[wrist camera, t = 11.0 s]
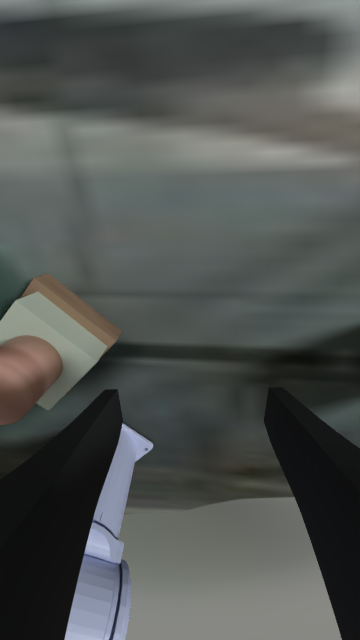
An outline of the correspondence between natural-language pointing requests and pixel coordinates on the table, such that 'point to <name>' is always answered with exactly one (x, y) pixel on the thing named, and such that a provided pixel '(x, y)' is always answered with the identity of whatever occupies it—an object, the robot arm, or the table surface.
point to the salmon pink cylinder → (25, 375)
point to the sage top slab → (53, 340)
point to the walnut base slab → (75, 309)
